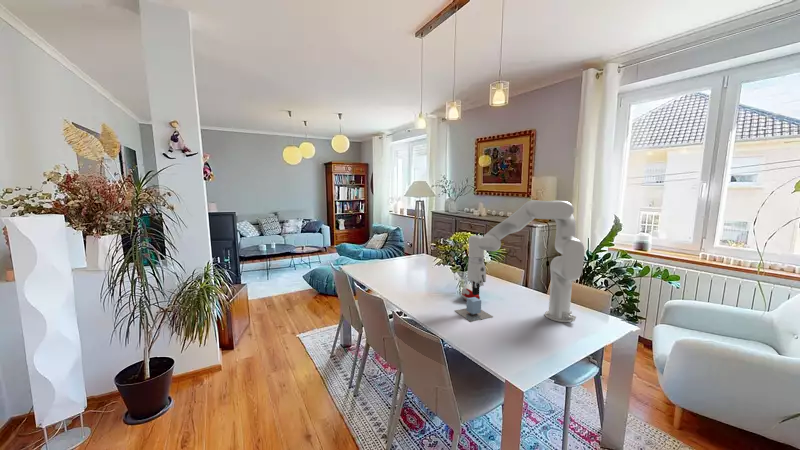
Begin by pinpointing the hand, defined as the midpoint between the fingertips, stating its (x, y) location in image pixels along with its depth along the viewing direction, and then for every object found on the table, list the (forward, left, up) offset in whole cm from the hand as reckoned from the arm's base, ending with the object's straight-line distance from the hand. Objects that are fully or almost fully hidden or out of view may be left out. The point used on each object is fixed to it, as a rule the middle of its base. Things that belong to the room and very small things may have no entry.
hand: (475, 294), depth 158 cm
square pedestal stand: (0, +1, -11) cm, 11 cm away
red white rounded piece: (+17, -10, -11) cm, 22 cm away
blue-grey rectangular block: (0, +1, -9) cm, 9 cm away
